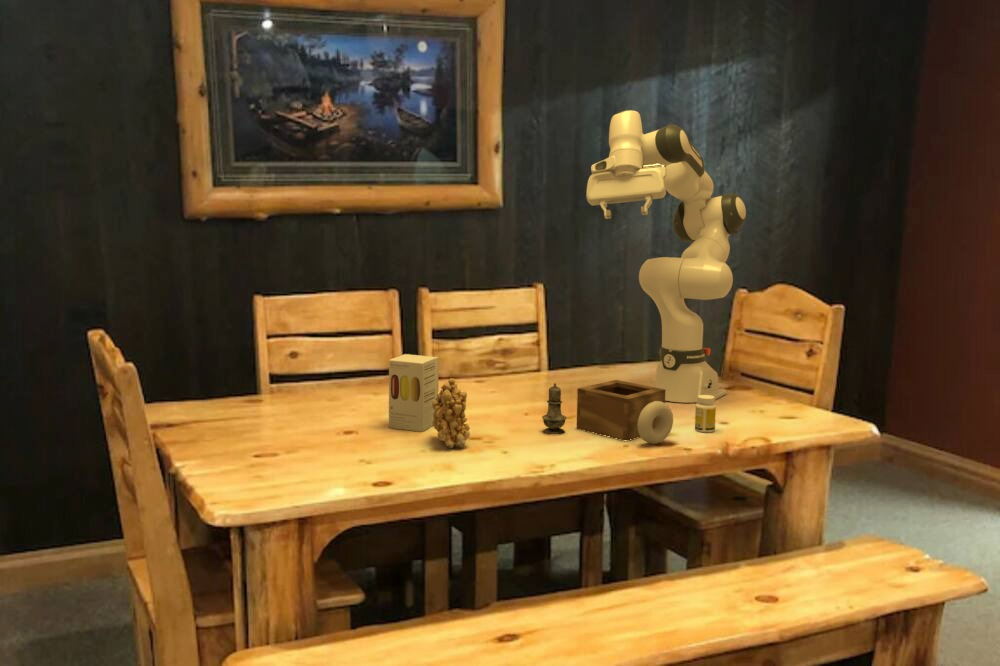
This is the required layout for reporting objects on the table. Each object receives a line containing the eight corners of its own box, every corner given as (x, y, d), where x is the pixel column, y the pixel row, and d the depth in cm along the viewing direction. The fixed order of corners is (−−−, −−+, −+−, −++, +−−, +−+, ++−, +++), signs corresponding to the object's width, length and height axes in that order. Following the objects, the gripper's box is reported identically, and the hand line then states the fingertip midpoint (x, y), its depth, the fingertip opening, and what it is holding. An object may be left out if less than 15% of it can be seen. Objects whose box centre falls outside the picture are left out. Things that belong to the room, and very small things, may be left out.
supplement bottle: (715, 428, 224) (717, 395, 223) (713, 433, 220) (715, 399, 219) (695, 427, 226) (697, 393, 225) (693, 431, 222) (695, 397, 220)
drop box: (614, 418, 233) (616, 379, 232) (663, 429, 223) (665, 389, 221) (576, 428, 223) (577, 388, 221) (626, 441, 212) (627, 399, 211)
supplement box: (387, 428, 221) (386, 359, 219) (404, 419, 230) (404, 353, 227) (423, 432, 218) (423, 362, 215) (439, 423, 227) (439, 356, 224)
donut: (643, 448, 207) (645, 405, 205) (633, 445, 209) (634, 402, 208) (675, 442, 212) (677, 400, 211) (664, 438, 215) (666, 397, 213)
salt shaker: (564, 435, 217) (565, 386, 215) (539, 434, 218) (540, 384, 216) (567, 429, 222) (568, 380, 220) (543, 427, 223) (544, 379, 221)
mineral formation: (440, 452, 202) (440, 386, 199) (422, 437, 214) (422, 373, 212) (474, 449, 205) (475, 383, 202) (455, 434, 217) (455, 371, 215)
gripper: (667, 168, 238) (668, 217, 234) (590, 177, 244) (590, 224, 240) (664, 156, 232) (665, 206, 228) (585, 166, 239) (584, 214, 234)
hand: (625, 215), depth 234 cm, fingers open, 8 cm apart
